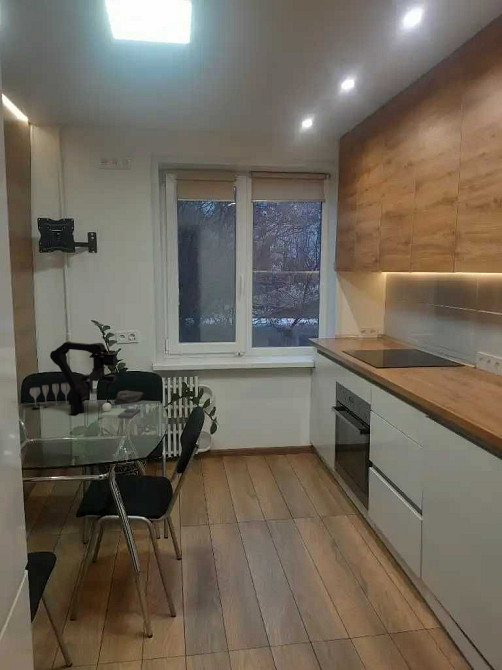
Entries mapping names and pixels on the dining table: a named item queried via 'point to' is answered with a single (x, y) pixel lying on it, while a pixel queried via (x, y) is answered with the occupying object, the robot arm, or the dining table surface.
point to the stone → (128, 397)
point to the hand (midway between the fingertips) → (99, 393)
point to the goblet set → (55, 387)
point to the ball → (106, 407)
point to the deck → (120, 413)
